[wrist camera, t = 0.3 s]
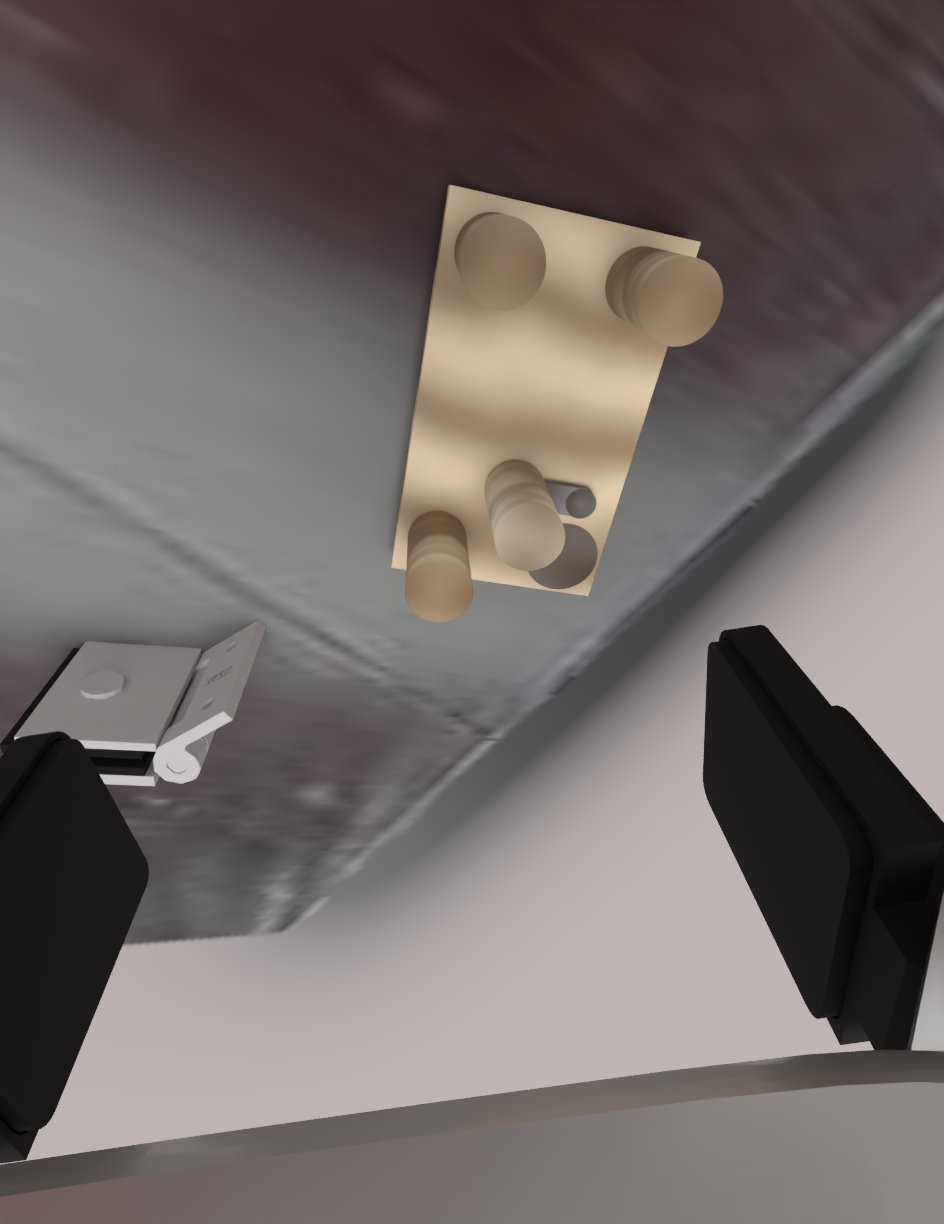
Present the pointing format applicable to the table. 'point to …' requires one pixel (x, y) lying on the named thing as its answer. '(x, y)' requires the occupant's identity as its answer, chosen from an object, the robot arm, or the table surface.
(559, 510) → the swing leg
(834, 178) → the table surface
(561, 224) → the stool seat
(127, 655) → the hinge
